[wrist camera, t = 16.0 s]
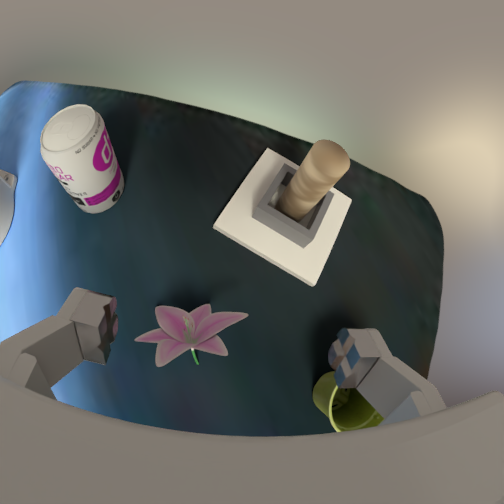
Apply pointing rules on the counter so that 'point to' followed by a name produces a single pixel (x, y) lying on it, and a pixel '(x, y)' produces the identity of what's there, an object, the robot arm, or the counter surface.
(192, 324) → the lily
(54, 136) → the supplement can
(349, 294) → the counter surface
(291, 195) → the beech peg
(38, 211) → the counter surface
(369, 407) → the plant pot
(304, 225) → the docking plate
